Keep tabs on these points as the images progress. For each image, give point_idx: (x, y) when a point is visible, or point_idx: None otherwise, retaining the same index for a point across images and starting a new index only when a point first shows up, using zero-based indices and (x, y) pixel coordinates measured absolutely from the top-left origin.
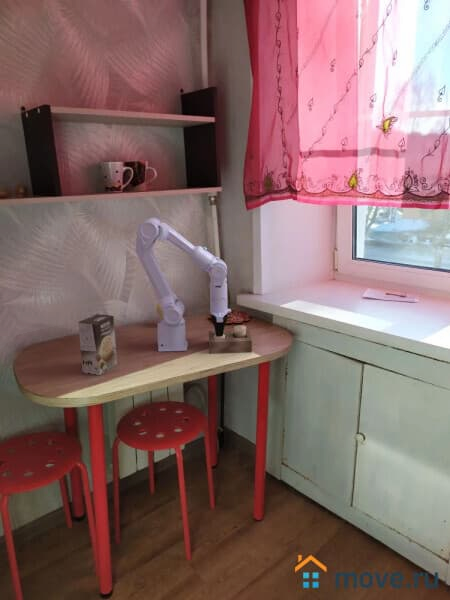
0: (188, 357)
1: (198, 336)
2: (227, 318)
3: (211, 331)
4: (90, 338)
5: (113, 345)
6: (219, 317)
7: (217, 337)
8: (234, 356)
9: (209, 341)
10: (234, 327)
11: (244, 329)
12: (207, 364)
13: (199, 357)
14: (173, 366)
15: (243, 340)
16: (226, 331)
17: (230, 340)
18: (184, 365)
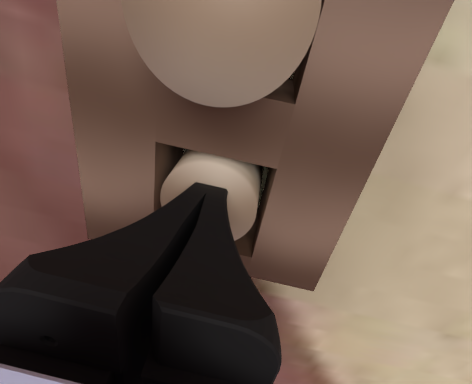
0: (316, 316)
1: (45, 221)
2: (259, 333)
3: (99, 226)
4: None
5: None
6: None
7: (243, 228)
8: (431, 112)
9: (301, 286)
10: (216, 101)
11: None
12: (450, 278)
13: (338, 283)
14: (384, 370)
15: (422, 9)
16: (99, 120)
17: (350, 152)
18: (398, 345)
